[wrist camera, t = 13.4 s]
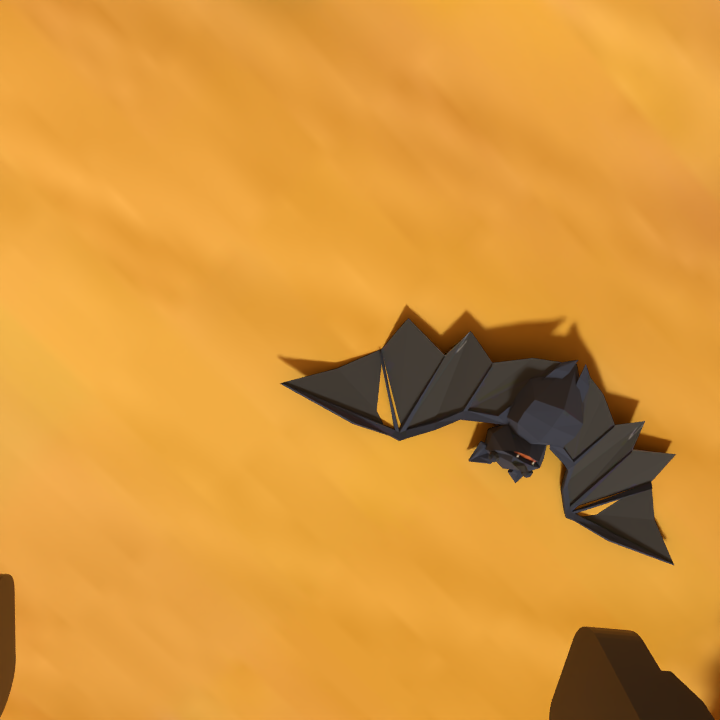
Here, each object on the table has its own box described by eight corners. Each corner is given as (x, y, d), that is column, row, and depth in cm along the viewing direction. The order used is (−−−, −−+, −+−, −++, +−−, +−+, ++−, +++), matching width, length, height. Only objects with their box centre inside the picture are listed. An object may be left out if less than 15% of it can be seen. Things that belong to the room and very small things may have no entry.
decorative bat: (790, 481, 41) (682, 592, 45) (753, 444, 45) (655, 549, 48) (358, 254, 34) (272, 407, 38) (356, 233, 38) (278, 374, 42)
